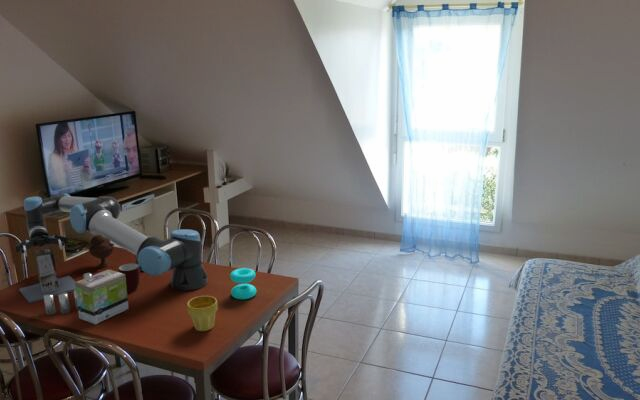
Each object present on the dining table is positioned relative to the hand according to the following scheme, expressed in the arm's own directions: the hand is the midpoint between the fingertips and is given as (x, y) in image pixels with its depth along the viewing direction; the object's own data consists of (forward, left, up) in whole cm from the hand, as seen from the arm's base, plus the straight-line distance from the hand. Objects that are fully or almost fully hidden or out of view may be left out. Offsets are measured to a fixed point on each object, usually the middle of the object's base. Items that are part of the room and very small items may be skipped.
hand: (43, 249), depth 240 cm
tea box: (-44, -8, -15) cm, 48 cm away
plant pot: (-78, -31, -15) cm, 86 cm away
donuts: (-65, -56, -15) cm, 87 cm away
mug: (-30, -23, -15) cm, 41 cm away
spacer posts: (-26, -2, -15) cm, 30 cm away
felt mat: (-7, +1, -15) cm, 17 cm away
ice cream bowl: (+4, -25, -15) cm, 29 cm away
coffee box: (-8, +2, -14) cm, 16 cm away
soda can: (-11, -38, -15) cm, 42 cm away
